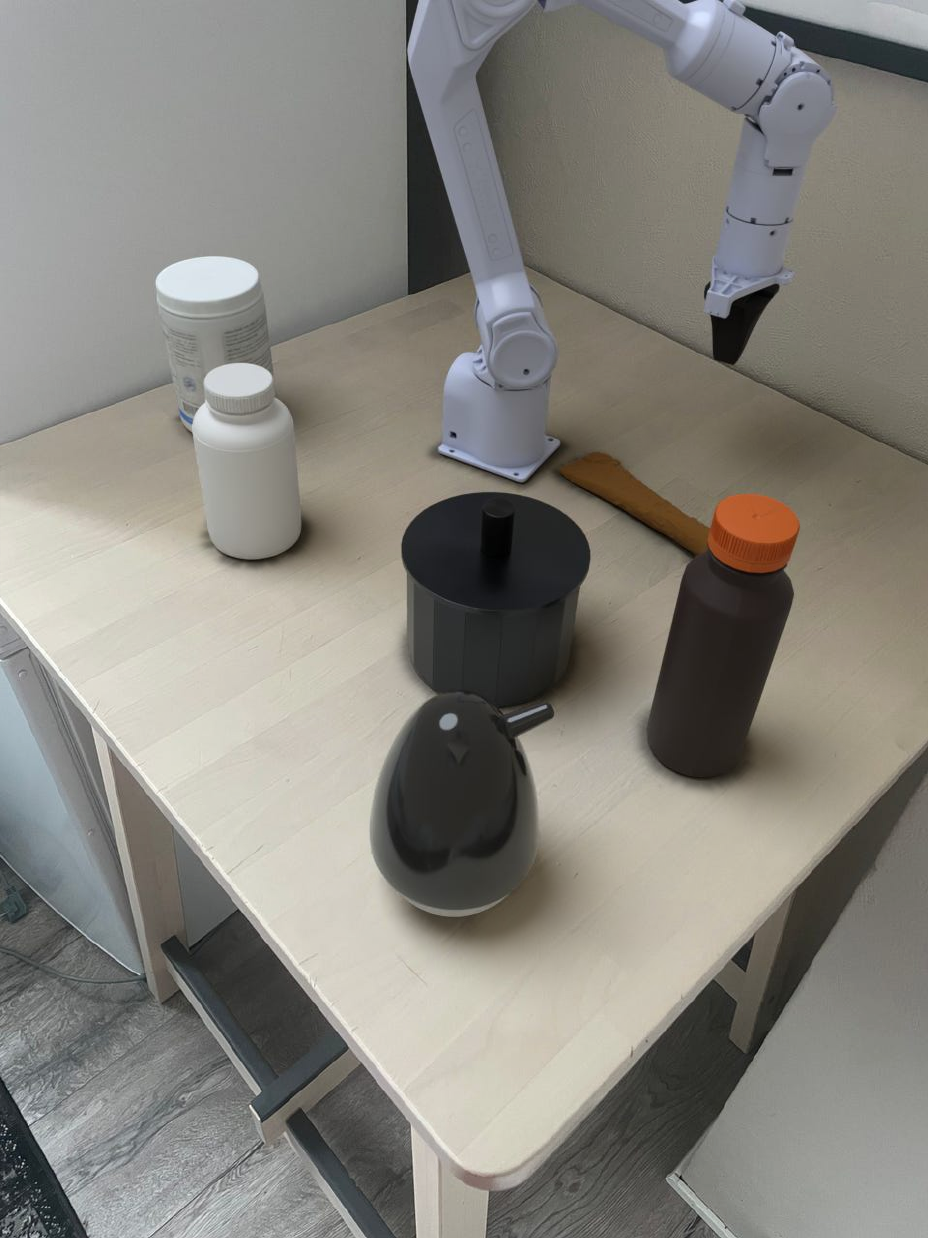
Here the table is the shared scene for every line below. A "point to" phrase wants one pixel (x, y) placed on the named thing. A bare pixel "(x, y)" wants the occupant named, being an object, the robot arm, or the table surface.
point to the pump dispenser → (457, 804)
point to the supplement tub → (210, 323)
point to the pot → (489, 648)
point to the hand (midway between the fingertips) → (725, 359)
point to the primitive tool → (636, 499)
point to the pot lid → (495, 554)
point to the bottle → (723, 637)
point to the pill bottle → (247, 463)
